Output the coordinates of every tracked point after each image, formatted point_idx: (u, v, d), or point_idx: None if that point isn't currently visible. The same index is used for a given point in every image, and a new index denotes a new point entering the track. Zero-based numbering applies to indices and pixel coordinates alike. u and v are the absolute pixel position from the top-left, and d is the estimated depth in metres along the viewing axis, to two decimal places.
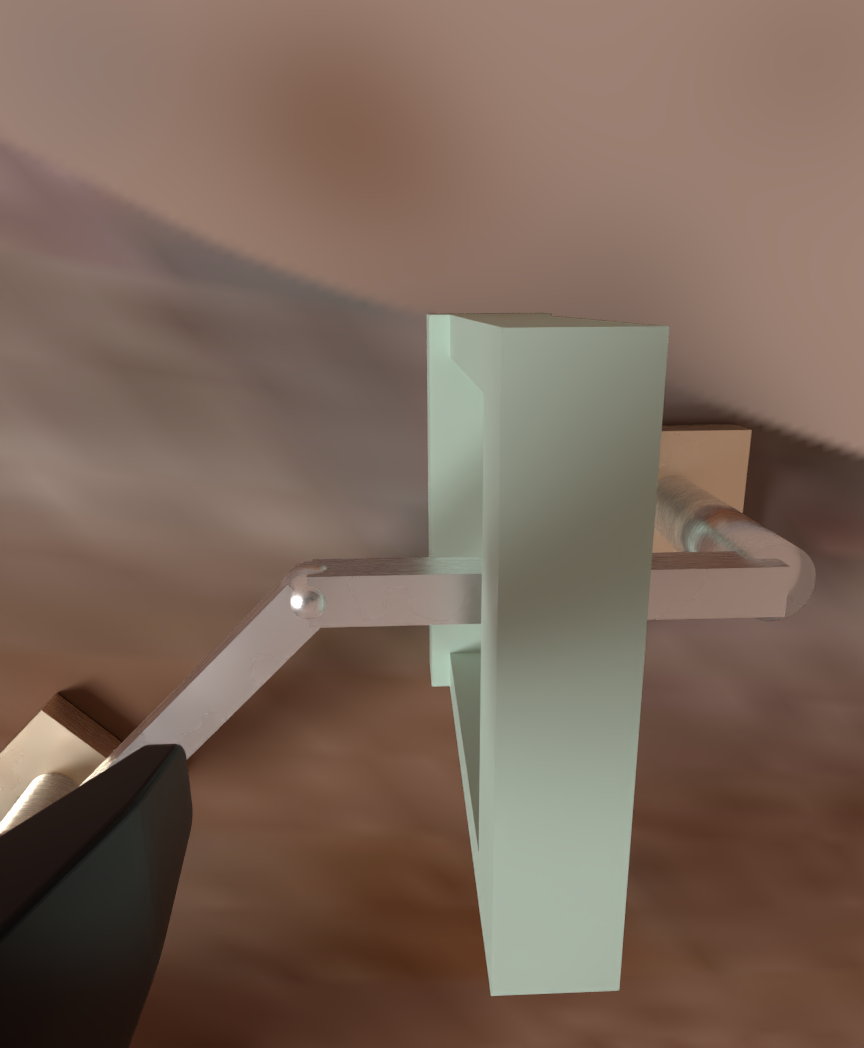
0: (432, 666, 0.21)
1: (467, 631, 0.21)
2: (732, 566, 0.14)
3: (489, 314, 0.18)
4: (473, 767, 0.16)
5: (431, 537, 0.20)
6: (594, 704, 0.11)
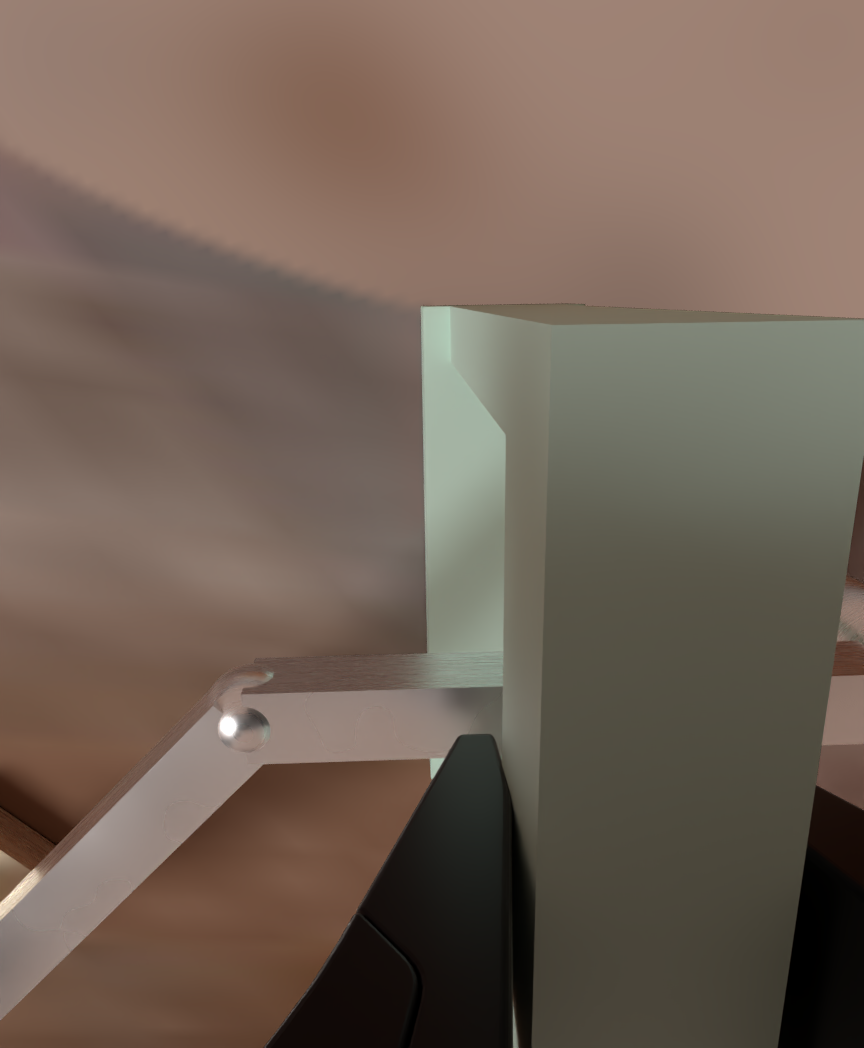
0: None
1: None
2: (862, 671, 0.10)
3: None
4: None
5: (428, 594, 0.16)
6: (703, 985, 0.06)
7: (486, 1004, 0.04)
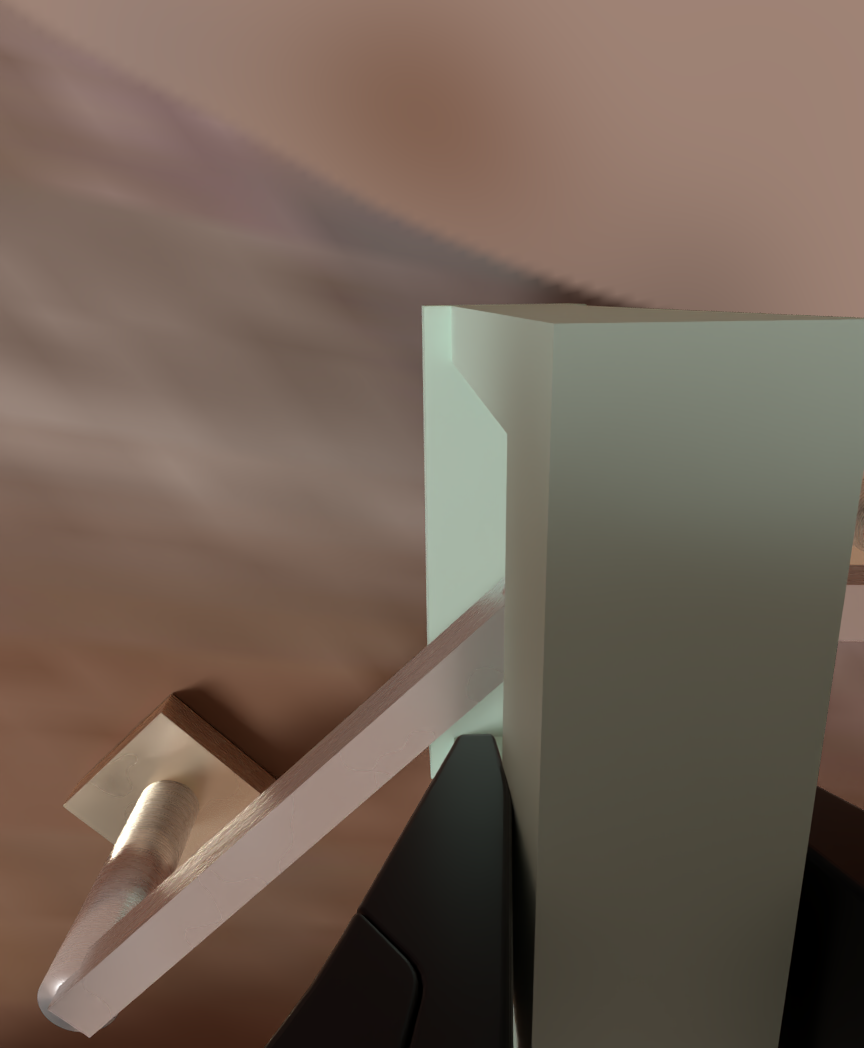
0: (431, 753, 0.17)
1: (475, 710, 0.17)
2: None
3: (504, 305, 0.14)
4: None
5: (429, 593, 0.16)
6: (705, 984, 0.06)
7: (487, 1004, 0.04)
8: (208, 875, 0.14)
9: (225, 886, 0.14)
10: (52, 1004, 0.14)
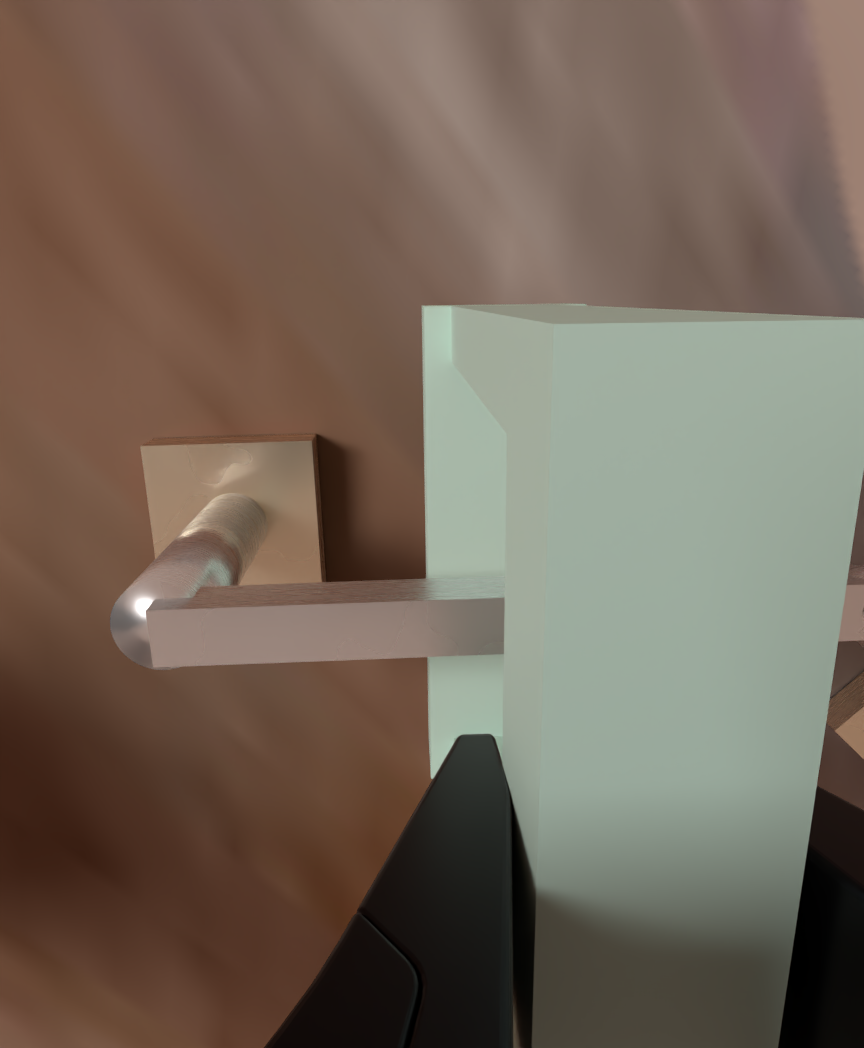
0: (431, 753, 0.17)
1: (475, 710, 0.17)
2: None
3: (504, 305, 0.14)
4: None
5: None
6: (704, 985, 0.06)
7: (487, 1004, 0.04)
8: (421, 607, 0.12)
9: (422, 628, 0.13)
10: (153, 610, 0.12)
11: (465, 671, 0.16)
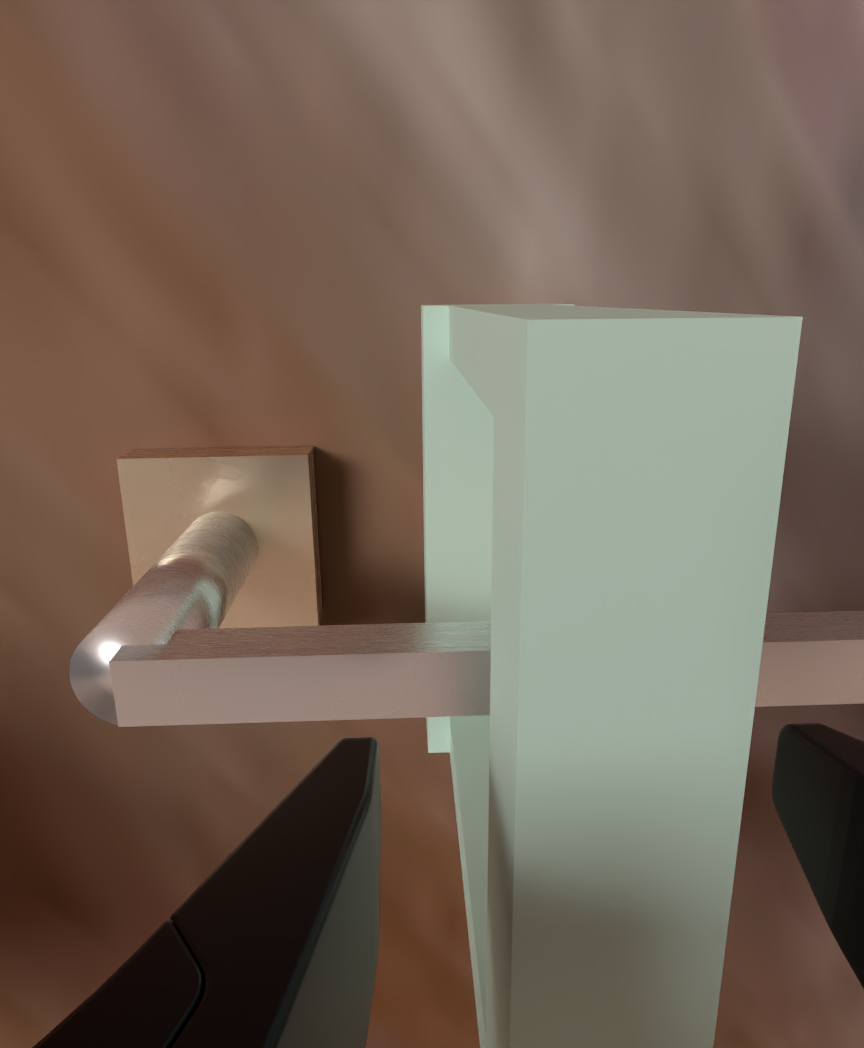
0: (428, 729, 0.18)
1: None
2: None
3: None
4: (479, 887, 0.12)
5: (427, 576, 0.17)
6: (660, 889, 0.07)
7: (259, 1014, 0.04)
8: (434, 660, 0.11)
9: (435, 684, 0.11)
10: (118, 660, 0.10)
11: None
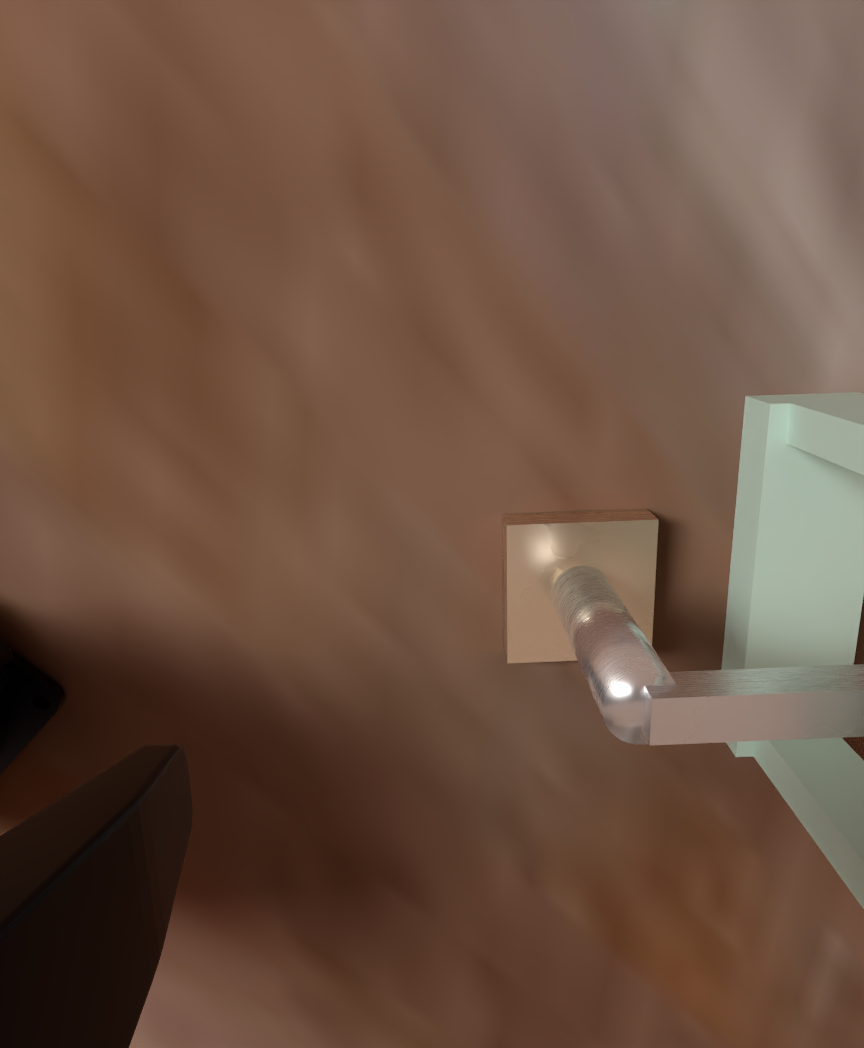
0: None
1: None
2: None
3: (834, 403, 0.19)
4: None
5: (749, 615, 0.21)
6: None
7: None
8: None
9: None
10: (657, 697, 0.14)
11: None
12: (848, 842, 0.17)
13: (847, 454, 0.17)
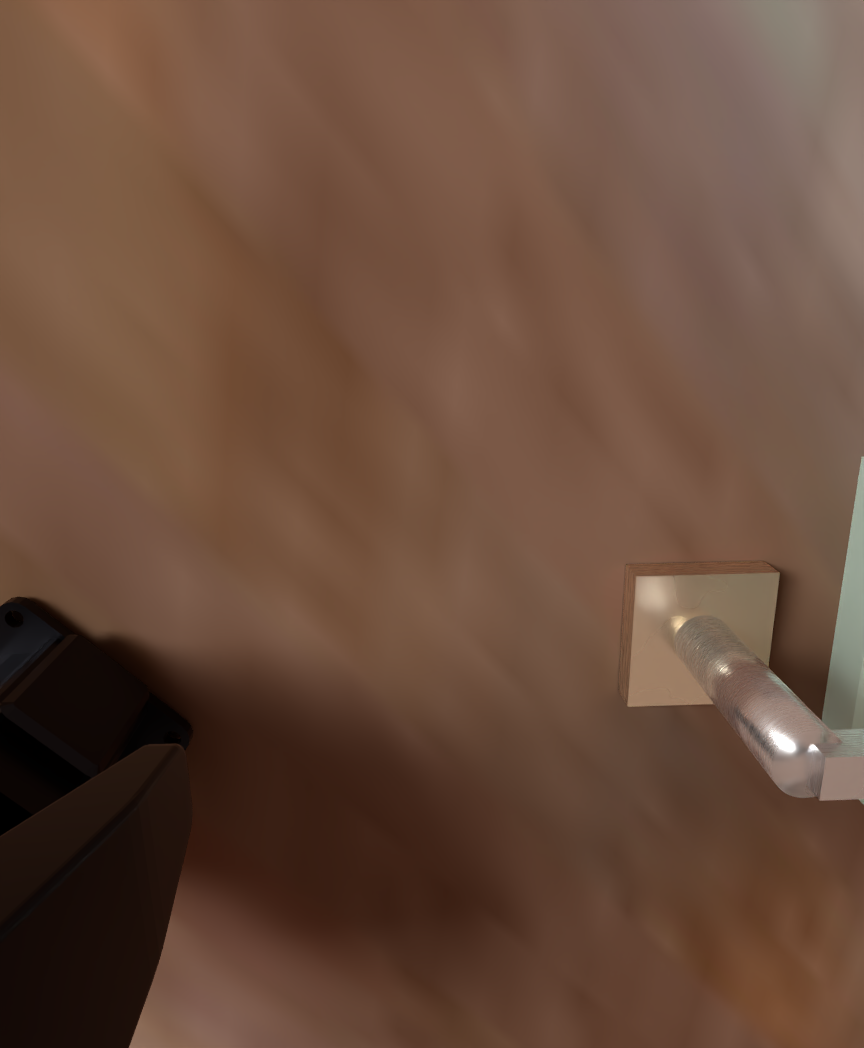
0: None
1: None
2: None
3: None
4: None
5: (861, 664, 0.22)
6: None
7: None
8: None
9: None
10: (830, 756, 0.15)
11: None
12: None
13: None
